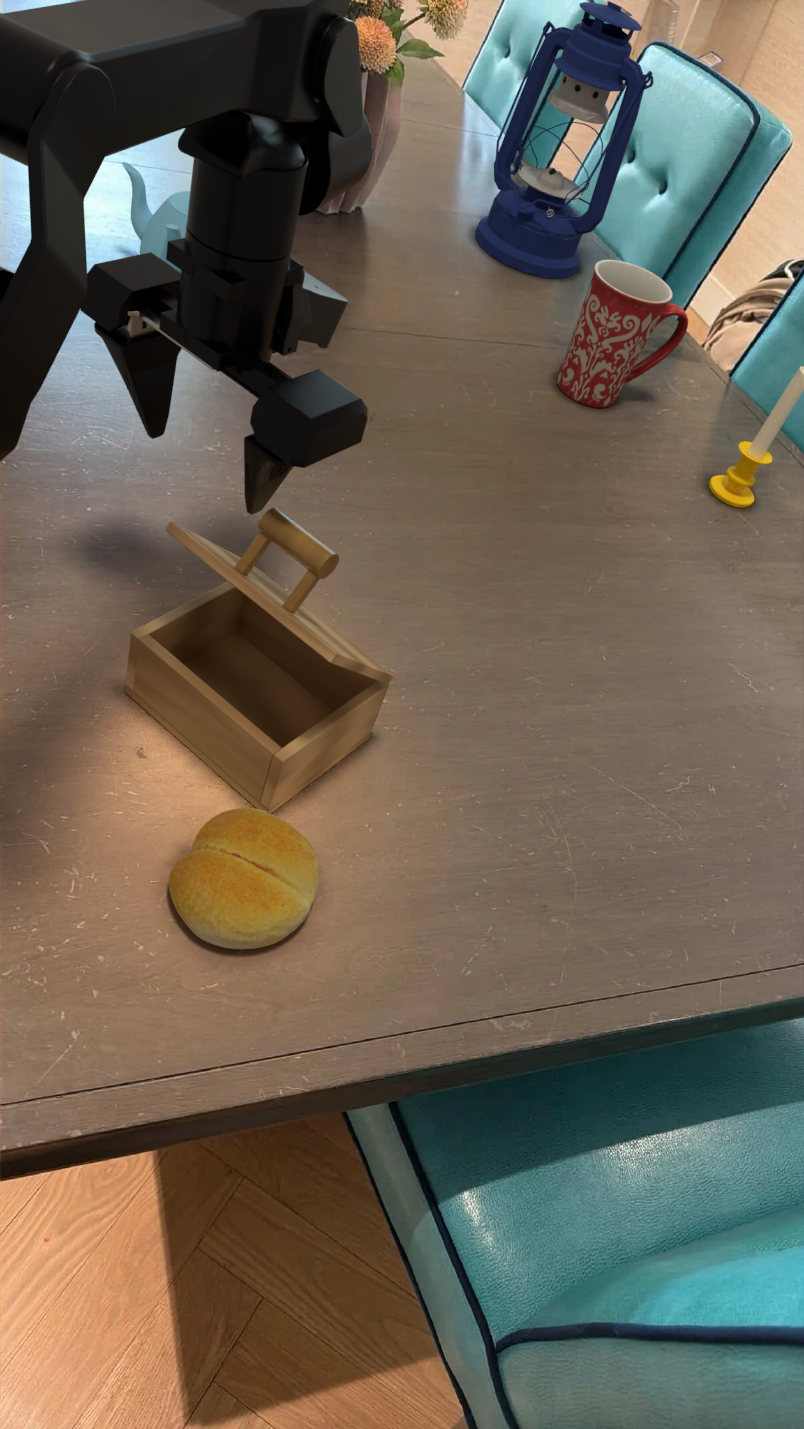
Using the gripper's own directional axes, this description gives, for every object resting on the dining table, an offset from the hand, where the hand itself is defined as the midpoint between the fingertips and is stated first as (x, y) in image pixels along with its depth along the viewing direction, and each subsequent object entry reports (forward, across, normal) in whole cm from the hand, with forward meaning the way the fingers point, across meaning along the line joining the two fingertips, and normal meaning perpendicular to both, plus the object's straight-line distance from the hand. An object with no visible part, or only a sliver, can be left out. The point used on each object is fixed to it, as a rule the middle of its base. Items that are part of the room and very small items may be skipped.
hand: (204, 473), depth 65 cm
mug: (+13, 0, -65) cm, 67 cm away
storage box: (+13, -10, +3) cm, 17 cm away
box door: (+3, -10, +2) cm, 11 cm away
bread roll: (+13, -20, +13) cm, 27 cm away
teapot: (+13, +37, -36) cm, 53 cm away
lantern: (+13, +27, -90) cm, 95 cm away
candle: (+13, -20, -62) cm, 67 cm away
